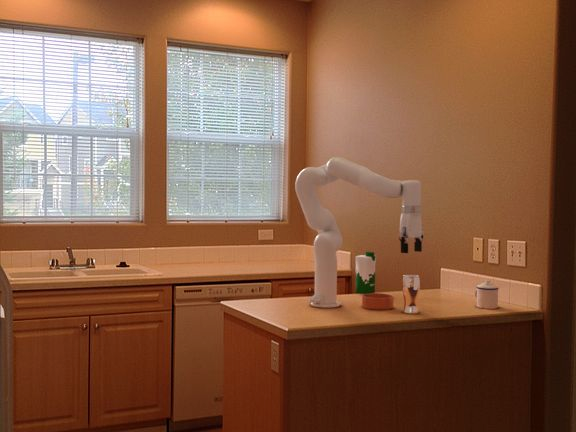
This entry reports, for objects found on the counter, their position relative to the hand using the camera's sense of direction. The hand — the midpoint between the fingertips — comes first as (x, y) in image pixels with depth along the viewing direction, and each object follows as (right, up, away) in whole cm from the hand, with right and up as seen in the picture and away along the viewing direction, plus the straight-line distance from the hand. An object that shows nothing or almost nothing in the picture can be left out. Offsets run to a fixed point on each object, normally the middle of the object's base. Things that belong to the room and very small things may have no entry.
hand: (411, 252), depth 269 cm
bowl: (-12, -24, +10) cm, 29 cm away
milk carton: (-13, -23, +49) cm, 55 cm away
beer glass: (0, -25, -1) cm, 25 cm away
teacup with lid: (+34, -25, +14) cm, 44 cm away
